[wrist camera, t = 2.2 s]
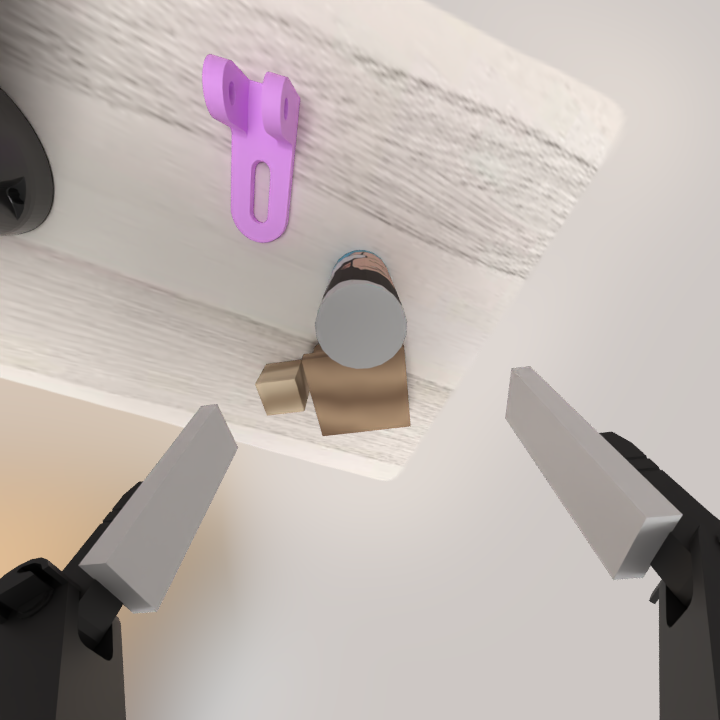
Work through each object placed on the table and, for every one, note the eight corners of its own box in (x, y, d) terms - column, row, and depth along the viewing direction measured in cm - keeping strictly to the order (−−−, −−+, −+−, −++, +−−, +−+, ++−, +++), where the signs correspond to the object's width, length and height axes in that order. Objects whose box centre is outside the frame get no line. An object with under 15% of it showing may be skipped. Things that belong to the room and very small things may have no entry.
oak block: (266, 363, 40) (255, 384, 36) (301, 359, 40) (294, 379, 35) (276, 393, 42) (267, 415, 38) (310, 389, 42) (304, 411, 38)
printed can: (383, 310, 36) (397, 373, 23) (329, 303, 36) (312, 364, 23) (393, 254, 33) (416, 289, 20) (334, 246, 33) (317, 277, 19)
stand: (308, 341, 38) (301, 360, 34) (398, 329, 37) (404, 346, 33) (326, 412, 44) (322, 436, 40) (405, 403, 43) (410, 426, 39)
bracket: (238, 80, 26) (201, 44, 20) (300, 98, 27) (283, 68, 20) (235, 234, 32) (206, 242, 26) (285, 246, 33) (269, 256, 27)
